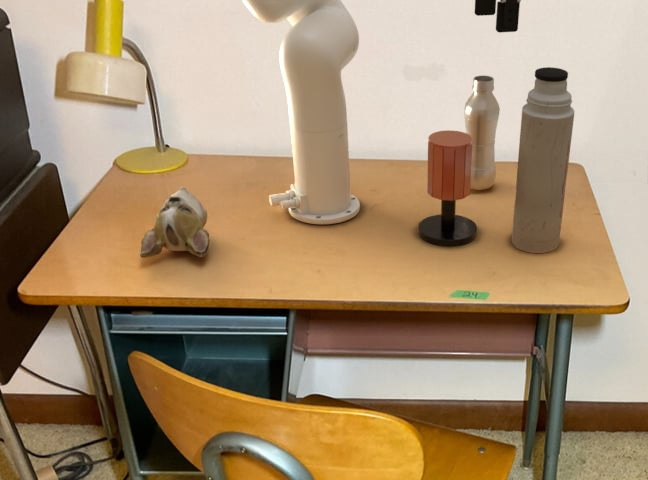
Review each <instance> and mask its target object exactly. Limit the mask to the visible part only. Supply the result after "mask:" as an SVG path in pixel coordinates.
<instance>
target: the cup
mask: <svg viewBox="0 0 648 480" xmlns="http://www.w3.org/2000/svg"><path fill="white" fill-rule="evenodd" d="M427 138H428V141H427V189H426V190H427V191H426V192H427V194H428V195H429V196H430V197H431V198H434V199H437V200H440V201H441V200H450V201H453V200H456V201H459V200H464V199H465V198H467V197H469V196H470V195H471V189H470V184H471V162H472V137H471V136H470V135H469V134H467V133H466V132H465V131H464V132H463V131H459V130H440V131H435V132H433V133H430V135H428V137H427Z"/></svg>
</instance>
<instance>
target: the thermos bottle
mask: <svg viewBox="0 0 648 480" xmlns="http://www.w3.org/2000/svg"><path fill="white" fill-rule="evenodd" d="M534 78H535V80H534V88H532V89H530V90H529V91H528V92H527V97H526V103H525V104H523V106H522V108H521V120H520V132H519V145H518V156H517V170H516V183H515V185H516V186H515V200H514V206H513V218H512V232H511V243H512V245H513V246H514V247H515V248H517V249H518V250H521V251H522V252H527V253H532V254H545V253H549V252H553V251H555V250H557V248H558V247H559V245H560V238H561V229H562V222H563V213H564V204H565V195H566V188H567V187H566V185H567V178H568V170H569V162H570V154H571V145H572V137H573V128H574V121H575V108H573V107H572V105H571V104H572V103H573V100H572V94H571V92H569V91H568V81H567V80H568V78H569V72H568V71H567V70H566V69H563V68H560V67H553V66H552V67H551V66H550V67H540V68H537V69H535V70H534Z"/></svg>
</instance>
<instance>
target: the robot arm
mask: <svg viewBox="0 0 648 480" xmlns="http://www.w3.org/2000/svg"><path fill="white" fill-rule="evenodd" d="M241 1H242V3H243V4H244V6H245V7H246V8H247V9H248V11H249V12H250V13H251V15H252V16H253V17H254V18H256V19H257V20H258V21H260V22H262V23H265V24H277V23H280V22H282V21H285V20H287V21H288V22H289V24H290V25H291V27H290V28H289V29H288V30H287V32H286V33H285V34H284V36H283V38H282V40H281V43H280V47H279V56H278V59H279V60H278V61H279V66H280V67H279V68H280V72H281V76H282V80H283V84H284V89H285V94H286V102H287V110H288V119H289V120H288V121H289V129H290V130H289V131H290V139H291V152H292V163H293V164H292V165H293V174H294V183H290V184H289V185H290V189H288V190H285V192H283V193H273V194H269V195H268V201H269V204H270V206H271V207H275V206H280V208H281V210H286V209H288V213H289V215H290V216H291V217H292V218H294V219H295V220H297V221H299V222H302V223H306V224H311V225H333V224H334V225H335V224H339V223H343V222H346V221H348V220H351V219H353V218H354V217H356V216H357V215H358V214H359V213H360V211H361V203H360V200H359V198H358V197H356V196H355V195H353V194H352V193H351V177H350V176H351V175H350V151H349V133H348V131H349V130H348V113H347V112H348V111H347V102H346V96H345V95H346V94H345V90H344V85H343V81H342V80H343V79H342V71H343V70H344V68H345V67H347V65H348V64H350V62H351V61H352V60H353V59H354V57H355V56H356V54H357V52H358V49H359V44H360V36H359V35H360V34H359V30H358V27H357V25H356V23H355V21H354V19H353V16H352V15H351V13H350V12H349V10H348V9H347V8H346V6H345V4H344V3H343V2H342V0H241ZM521 2H522V0H499V1H497V0H474V15H475V16H477V17H478V16H494V15H496V17H495V18H496V20H495V30H496V33H515V32H517V31H518V29H519V20H520V19H519V18H520V5H521Z"/></svg>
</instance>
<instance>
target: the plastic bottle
mask: <svg viewBox="0 0 648 480" xmlns="http://www.w3.org/2000/svg"><path fill="white" fill-rule="evenodd" d="M494 85H495V78H494V77H493V76H490V75H476V76H474V77H473V79H472V86H471V89H472V91H473V92H472V94H471V95H470V96H469V97H468V98H467V100H466V102H465V105H464V107H463V114H464V124H465V133H467V134H469V135H470V136H471V137H472V162H471V184H470V190H475V191H482V190H487V189H488V190H489V189H490V188H491V187H492V186H493V185H494V184H495V181H496V177H497V166H496V156H495V155H496V153H495V151H496V150H495V144H496V143H495V142H496V136H497V135H496V134H497V129H498V128H497V127H498V122H499V118H500V111H501V109H500V104H499V101H498V100H497V98H496V96H495V95H494V93H493V92H494V90H495V86H494Z"/></svg>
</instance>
